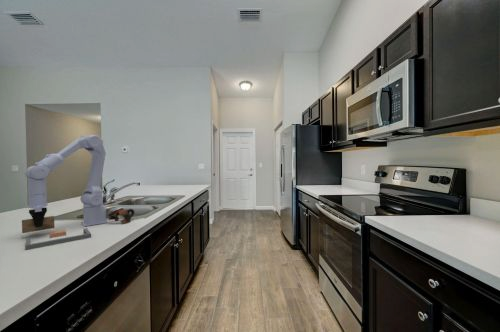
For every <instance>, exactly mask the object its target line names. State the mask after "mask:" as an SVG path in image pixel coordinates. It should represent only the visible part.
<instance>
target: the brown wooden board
mask: <svg viewBox="0 0 500 332" xmlns="http://www.w3.org/2000/svg"><path fill="white" fill-rule="evenodd" d="M51 229H55V216H54V215H50V216H44V220H43V225H42V227H35V225H34V221H33V218H29V219H27V218H26V219H21V233H22V234H25V233H32V232H37V231H43V230H44V231H46V230H51Z"/></svg>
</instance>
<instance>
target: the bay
mask: <svg viewBox="0 0 500 332" xmlns="http://www.w3.org/2000/svg"><path fill="white" fill-rule="evenodd" d="M89 238H92V233H91V231H90V230H89V229H88V228H87V227H86V228H83V234H77V235H72V236H66V237H60V238H56V239H50V240H46V241H39V242H34V243H31V237H28V238H27V237H26V238H25V247H24V248H25V251H27V250H32V249H38V248H42V247H47V246H53V245H59V244H64V243H70V242H74V241H78V240H84V239H85V240H86V239H89Z"/></svg>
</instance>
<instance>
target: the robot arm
mask: <svg viewBox="0 0 500 332" xmlns="http://www.w3.org/2000/svg"><path fill="white" fill-rule="evenodd" d="M80 149H81V150H82V149H84V150H85V151H88V152H89V153H90V154H91V157H92V158H91V163H90V168H89V174H88V175H89V176H88V179H87V180H88V181H87V186H86V187H85V188H84V189H83V192H82V194H81V196H80V202H81V203H82V204H83V205H82V209H83V210H82V211H83V217H82V218H83V222H81V224H82V226H83V227H88V226H94V225H102V224H106V223H107V207H106V204H102V203H103V200H104V197H103V189H102V188H101V184H102V177H103V172H104V165H105V160H106V154H107V153H106V150H105V146H104V140H103V139H102V138H101V137H100V136H99V135H96V134H91V135H81V136H80V137H79V138H77V139H75V140H73V141H72V142H71V143H69V144H68V145H67V146H64V147H63V149H62V150H59V152H57V153H50V154H49V153H48V154H46V155H45V157H44V158H43V159H41V160H40V161H36V162H34V164H35V165H31V166H29V167H27V168H26V170H25V172H24V175H25V177H26V178H27V195H28V196H27V199H28V202H27V203H28V205H24V208H25V209H26V208H28V209H29V210H28V214H30V216H31V219H33V221H34V225H35V227H42V225H43V220H44V217H46V214H47V212H48V210H47V209H48V208H47V207H48V206H49V205H48V197H47V195H48V194H47V193H48V192H47V179H46V178H47V177H48V176H49V175H50V174H49V173H52V171H54V170H55V169H57V168H59V166H61V165H63V164H64V159H66V158H67V157H69V156H70V155H72V154H73V153H75V152H77V151H79V150H80Z"/></svg>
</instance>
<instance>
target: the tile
mask: <svg viewBox="0 0 500 332" xmlns="http://www.w3.org/2000/svg"><path fill="white" fill-rule="evenodd" d="M65 236H66V237H67V231H66V229H57V230H52V231H51V230H50V231H49V238H50V239H54V238H58V237H60V238H61V237H65Z"/></svg>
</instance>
